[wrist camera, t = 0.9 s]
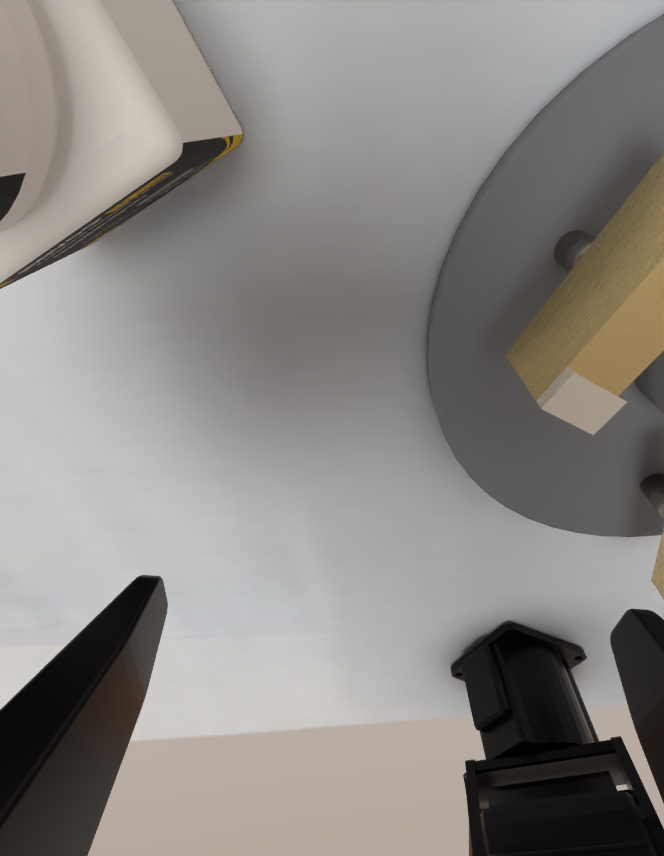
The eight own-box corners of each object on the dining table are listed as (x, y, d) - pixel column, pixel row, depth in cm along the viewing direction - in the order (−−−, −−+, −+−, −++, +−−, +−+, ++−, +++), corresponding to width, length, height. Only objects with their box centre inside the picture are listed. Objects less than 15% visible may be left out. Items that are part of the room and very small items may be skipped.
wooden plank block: (678, 155, 14) (859, 174, 9) (524, 346, 17) (593, 435, 12) (634, 122, 13) (798, 124, 9) (485, 325, 17) (541, 408, 12)
